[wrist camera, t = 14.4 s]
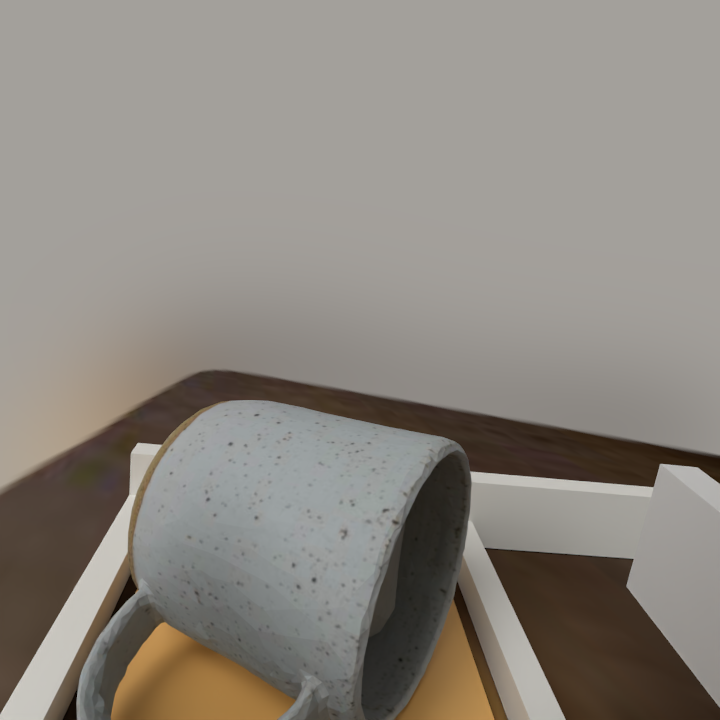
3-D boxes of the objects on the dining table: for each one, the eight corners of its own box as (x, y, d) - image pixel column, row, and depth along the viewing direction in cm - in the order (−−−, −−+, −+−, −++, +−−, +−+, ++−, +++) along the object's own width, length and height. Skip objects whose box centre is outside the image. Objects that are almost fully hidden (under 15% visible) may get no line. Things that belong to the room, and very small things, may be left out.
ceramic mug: (255, 542, 24) (270, 354, 22) (454, 627, 21) (494, 414, 19) (-8, 742, 15) (-25, 450, 13) (274, 950, 12) (314, 603, 10)
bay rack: (729, 549, 29) (747, 491, 28) (1104, 879, 15) (1162, 784, 15) (137, 504, 26) (140, 439, 26) (-55, 858, 12) (-63, 740, 12)
